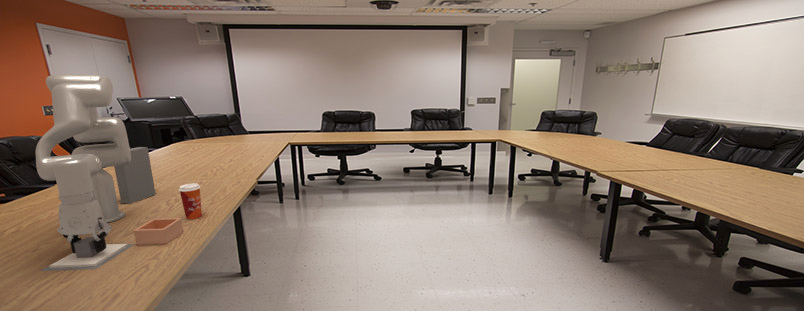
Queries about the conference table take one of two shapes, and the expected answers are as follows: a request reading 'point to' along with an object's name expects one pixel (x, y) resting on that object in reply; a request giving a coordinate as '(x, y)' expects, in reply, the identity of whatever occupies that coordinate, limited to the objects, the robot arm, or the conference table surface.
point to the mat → (88, 267)
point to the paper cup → (191, 200)
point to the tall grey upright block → (135, 177)
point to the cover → (87, 254)
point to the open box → (158, 231)
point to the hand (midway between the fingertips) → (89, 250)
